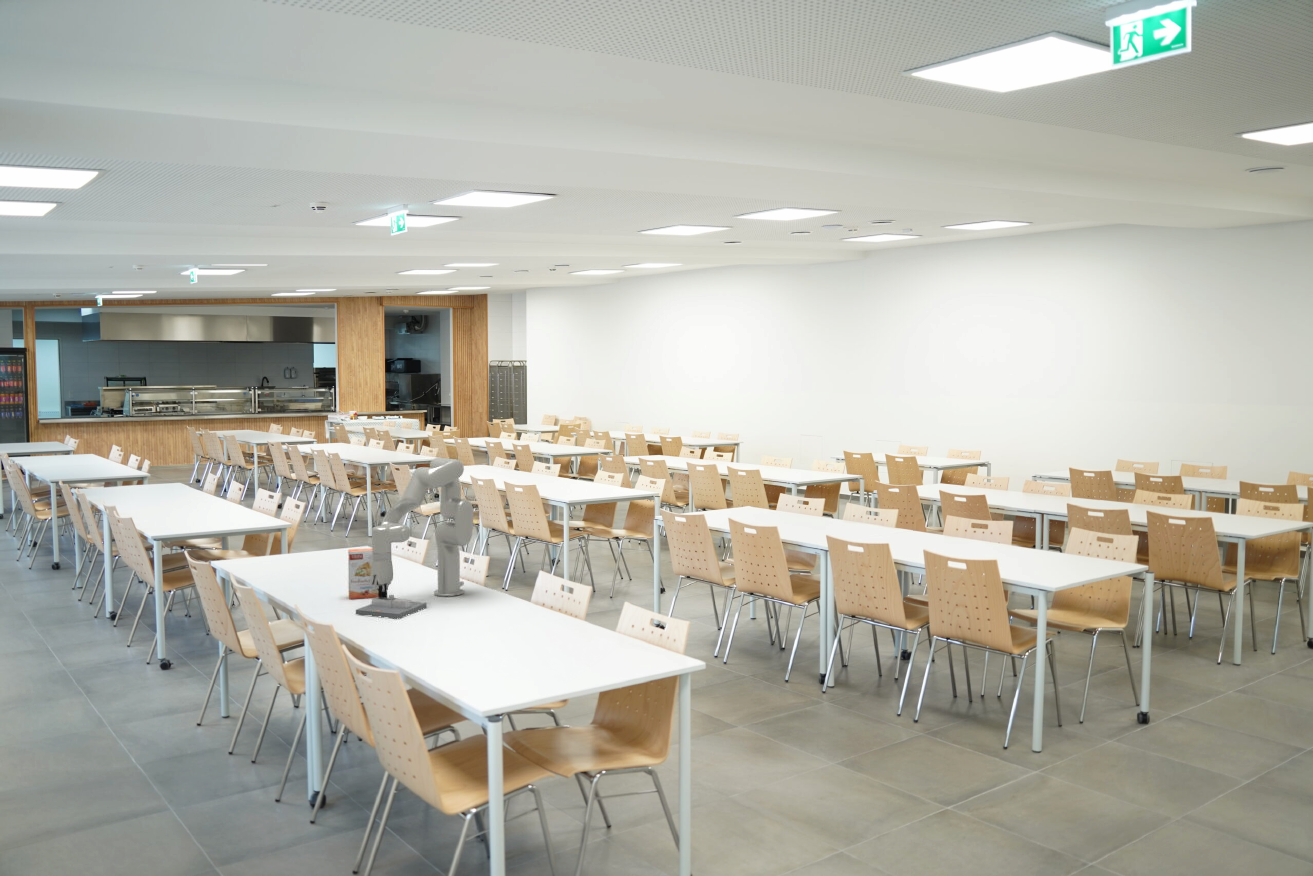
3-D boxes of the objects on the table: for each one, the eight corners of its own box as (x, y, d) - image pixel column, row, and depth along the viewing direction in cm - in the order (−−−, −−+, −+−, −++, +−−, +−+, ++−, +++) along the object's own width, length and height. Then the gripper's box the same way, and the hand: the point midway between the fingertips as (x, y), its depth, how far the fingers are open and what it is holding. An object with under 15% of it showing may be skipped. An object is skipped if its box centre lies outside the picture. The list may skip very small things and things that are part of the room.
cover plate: (384, 603, 412) (384, 588, 411) (426, 607, 405) (426, 592, 405) (355, 614, 393) (355, 598, 393) (398, 619, 387) (398, 602, 386)
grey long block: (378, 603, 404) (378, 596, 404) (411, 606, 399) (411, 599, 399) (370, 606, 399) (370, 598, 399) (405, 609, 394) (405, 602, 394)
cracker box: (349, 599, 419) (349, 551, 418) (348, 596, 424) (347, 548, 423) (383, 597, 424) (383, 549, 423) (381, 594, 430) (381, 547, 428)
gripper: (384, 552, 411) (385, 595, 413) (363, 559, 397) (364, 603, 399) (400, 553, 409) (401, 597, 410) (379, 560, 395) (380, 605, 396)
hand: (382, 600), depth 404 cm, fingers closed
